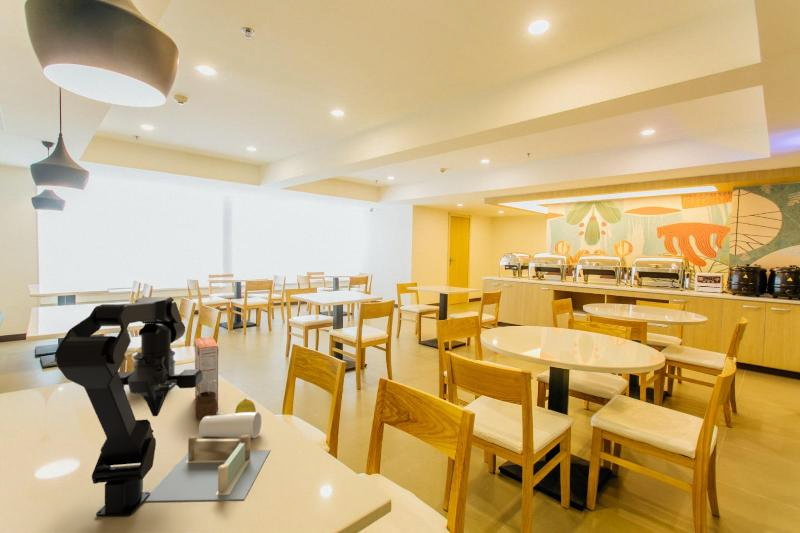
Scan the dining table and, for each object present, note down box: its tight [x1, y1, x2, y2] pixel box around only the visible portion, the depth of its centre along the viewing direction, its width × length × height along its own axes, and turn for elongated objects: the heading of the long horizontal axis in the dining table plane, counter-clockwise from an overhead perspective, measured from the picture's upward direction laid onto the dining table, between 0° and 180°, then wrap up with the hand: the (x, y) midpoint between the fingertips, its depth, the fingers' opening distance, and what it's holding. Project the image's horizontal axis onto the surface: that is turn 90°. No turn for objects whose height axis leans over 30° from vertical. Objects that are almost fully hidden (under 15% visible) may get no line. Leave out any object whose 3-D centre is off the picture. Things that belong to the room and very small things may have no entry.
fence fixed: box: [187, 434, 251, 461], centre depth 90 cm, size 15×2×6 cm, turn 94°
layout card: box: [143, 449, 271, 503], centre depth 85 cm, size 19×20×1 cm
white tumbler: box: [198, 411, 263, 439], centre depth 102 cm, size 7×7×15 cm
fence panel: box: [218, 443, 245, 493], centre depth 83 cm, size 12×2×5 cm, turn 3°
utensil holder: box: [194, 380, 218, 421], centre depth 113 cm, size 6×6×12 cm
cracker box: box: [194, 336, 219, 410], centre depth 123 cm, size 14×6×21 cm, turn 33°
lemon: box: [235, 398, 257, 413], centre depth 108 cm, size 6×6×8 cm
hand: (155, 415), depth 87 cm, fingers closed
